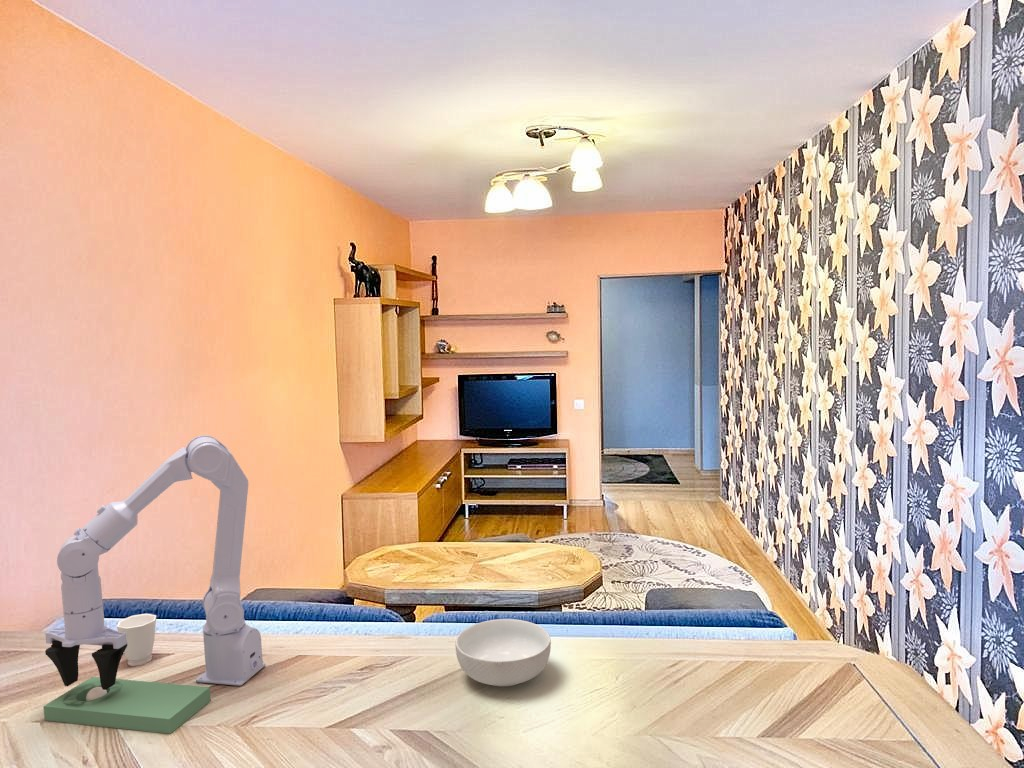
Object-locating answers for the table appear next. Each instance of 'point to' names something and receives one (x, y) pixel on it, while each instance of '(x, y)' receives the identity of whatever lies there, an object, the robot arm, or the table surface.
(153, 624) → the cup
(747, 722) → the table surface
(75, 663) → the robot arm
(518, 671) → the cereal bowl
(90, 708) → the putting strip
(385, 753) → the table surface
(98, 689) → the ball
